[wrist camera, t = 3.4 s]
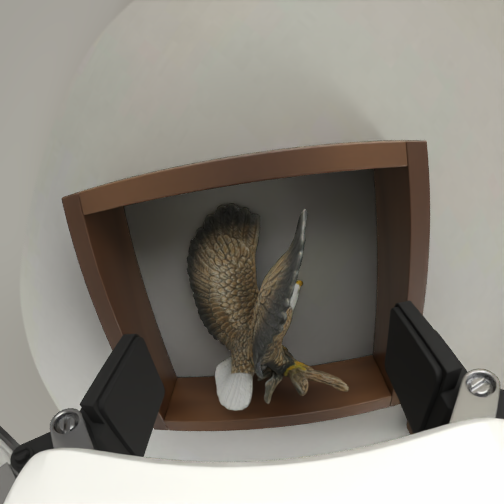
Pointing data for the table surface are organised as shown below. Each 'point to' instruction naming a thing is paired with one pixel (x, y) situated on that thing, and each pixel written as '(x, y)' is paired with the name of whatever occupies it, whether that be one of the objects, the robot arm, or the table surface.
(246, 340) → the eagle figurine
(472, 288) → the table surface
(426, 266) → the crate
